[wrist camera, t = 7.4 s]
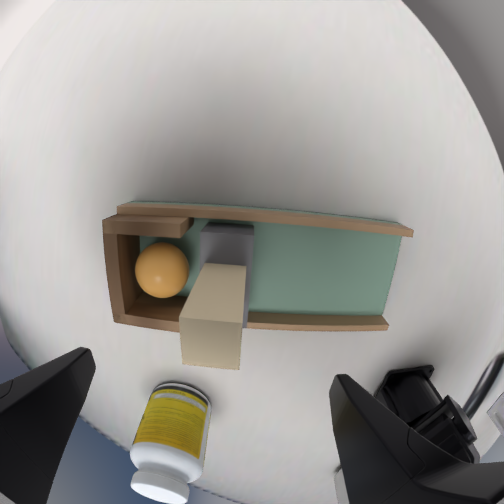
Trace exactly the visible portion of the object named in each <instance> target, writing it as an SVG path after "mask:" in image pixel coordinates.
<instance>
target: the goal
mask: <svg viewBox="0 0 504 504" xmlns="http://www.w3.org/2000/svg"><path fill="white" fill-rule="evenodd" d="M193 225H194V217H177V216H157V215H132V214H116V215H113V216H111V217H108V218H106V219H104V220H102V226H103V242H104V254H105V264H106V273H107V281H108V288H109V295H110V301H111V307H112V313H113V319H114V322H116V323H121V324H127V325H132V326H138V327H144V328H151V329H158V330H165V331H172V332H180V326H179V316H180V313H181V311H182V309H183V307H184V305H185V303H186V301H187V299H188V297H185V296H175V295H174V296H171V297H168V298H158V297H154V296H151V295H149V294H148V293H146V292H143V289H142V288H141V286H140V285H139V283H138V281H137V278H136V274H135V266H136V261H137V259H138V257H139V255H140V236H155V237H170V238H181V237H182V236H183V235H184V234H185V233H186V232H187V231H188V230H189V229H190V228H191V227H192V226H193Z"/></svg>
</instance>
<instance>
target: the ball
mask: <svg viewBox="0 0 504 504" xmlns="http://www.w3.org/2000/svg"><path fill="white" fill-rule="evenodd" d="M135 274H136V278H137V281H138V283H139V285H140V286H141V288H142V289H143V290H144V291H145V292H146V293H148V294H149V295H151V296H154V297H158V298H168V297H171V296H174V295H176V294H177V293H179V292H180V291H181V290H182V289H183V288H184V286H185V285H186V283H187V281H188V278H189V263H188V260H187V258H186V256H185V254H184V253H183V252H182V251H181V250H180V249H179V248H178V247H176V246H175V245H173V244H170V243H165V242H159V243H154V244H152V245H149V246H148V247H146V248H145V249H144V250H143V251H142V252H141V253H140V255H139V257H138V259H137V261H136V266H135Z"/></svg>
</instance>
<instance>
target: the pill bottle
mask: <svg viewBox="0 0 504 504" xmlns="http://www.w3.org/2000/svg"><path fill="white" fill-rule="evenodd" d="M210 417H211V405H210V403H209V401H208V399H207V398H206V397H205V396H204V395H203V394H202V393H200V392H199V391H197V390H196V389H194V388H191V387H189V386H186V385H182V384H176V383H169V384H163V385H160V386H158V387H157V388H155V389H154V391H153V392H152V394H151V396H150V398H149V401H148V404H147V406H146V409H145V412H144V414H143V417H142V419H141V422H140V425H139V427H138V430H137V433H136V436H135V439H134V441H133V444H132V447H131V450H130V456H131V459H132V461H133V463H134V464H135V466H136V467H137V468H138V469H139V470H138V471H137V472H135V473H134V475H133V478H132V482H131V487H132V488H133V489H134V490H135V491H136V492H138V493H140V494H141V495H143V496H146V497H148V498H151V499H153V500H157V501H161V502H165V503H171V504H184V503H186V502H187V500H188V495H189V487H188V486H187V483H189V482H192V481H194V480H196V479H198V478H199V477H200V476H201V474H202V472H203V467H204V460H205V452H206V444H207V437H208V430H209V424H210Z"/></svg>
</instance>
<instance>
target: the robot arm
mask: <svg viewBox="0 0 504 504" xmlns="http://www.w3.org/2000/svg"><path fill="white" fill-rule="evenodd" d="M95 369H96V366H95V362H94V359H93V356H92V352H91V350H90V349H88V348H84V347H79V348H77V349H75V350H73V351H71V352H69V353H66V354H64V355H62V356H60V357H58V358H56V359H54V360H52V361H50V362H48V363H45V364H43V365H41V366H39V367H37V368H35V369H33V370H31V371H28V372H26V373H25V374H22V375H20V376H18V377H16V378H14V379H11V380H9V381H7V382H5V383H3V384H0V504H46V503H47V500H48V496H49V493H50V489H51V487H52V484H53V480H54V477H55V474H56V471H57V469H58V466H59V463H60V460H61V458H62V455H63V452H64V449H65V447H66V445H67V442H68V440H69V437H70V435H71V432H72V429H73V427H74V425H75V423H76V420H77V418H78V416H79V413H80V411H81V409H82V407H83V404H84V402H85V399H86V396H87V393H88V390H89V387H90V384H91V381H92V379H93V376H94V373H95ZM433 371H434V367H433V366H432V365H430V366H424V367H418V368H412V369H405V370H397V371H391V372H389V373H388V374H387V376H386V378H385V380H384V382H383V384H382V386H381V388H380V390H379V392H378V394H377V396H376V398H375V397H373V396H372V395H371V394H370V393H369V392H367V391H366V390H365V389H364V388H363V387H362V386H360V385H359V384H358V383H357V382H356V381H354V380H353V379H352V378H351V377H350V376H349V375H347V374H337V375H336V376H335V377H334V380H333V383H332V385H331V388H330V392H329V398H330V406H331V415H332V425H333V432H334V436H335V441H336V445H337V449H338V454H339V458H340V463H341V467H342V472H343V476H344V481H345V486H346V491H347V496H348V500H349V504H504V462H493V463H479V461H480V455H479V453H478V451H477V450H476V448H475V446H474V444H473V442H474V441H475V440H477V436H476V434H475V432H474V429H473V427H472V425H471V423H470V421H469V418H468V417H467V415H466V414H465V413H464V411H463V410H462V408H461V407H460V406H459V404H458V403H456V402H455V401H454V400H453V399H452V398H451V397H450V396H449V395H447V396H446V397H445V398H444V400H443V399H442V398H441V396H440V395H439V393H438V391H437V390H436V388H435V387H434V385H433V384H432V383H431V381H430V380H429V378H430V376H431V375H432V373H433ZM453 416H454V417H453ZM452 417H453V418H452ZM451 418H452V419H451Z"/></svg>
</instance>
